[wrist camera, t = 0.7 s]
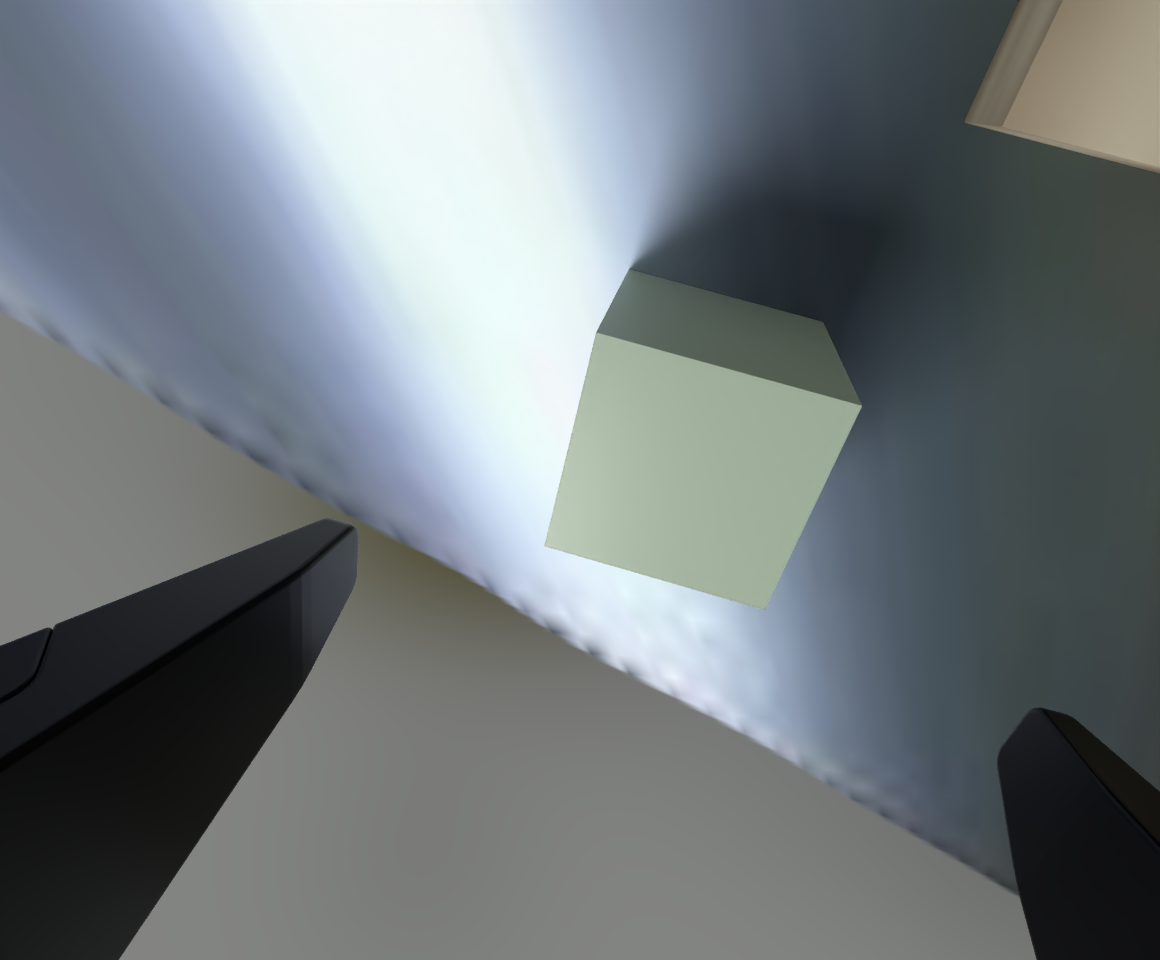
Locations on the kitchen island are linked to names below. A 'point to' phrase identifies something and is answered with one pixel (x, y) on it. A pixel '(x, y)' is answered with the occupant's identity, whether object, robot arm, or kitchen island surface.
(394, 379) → the kitchen island surface
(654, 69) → the kitchen island surface
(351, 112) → the kitchen island surface
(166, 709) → the robot arm
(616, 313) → the sage brick
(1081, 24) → the birch base brick
